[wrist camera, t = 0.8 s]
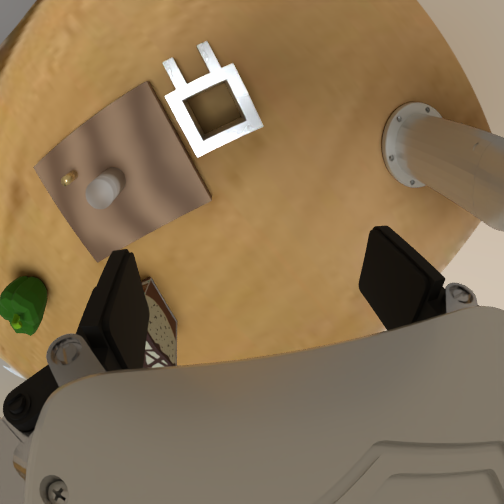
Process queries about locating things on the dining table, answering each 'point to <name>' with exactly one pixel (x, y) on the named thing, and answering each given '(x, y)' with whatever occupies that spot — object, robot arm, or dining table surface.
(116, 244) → the post board
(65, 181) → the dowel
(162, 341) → the food container
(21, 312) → the bell pepper
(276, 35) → the dining table surface
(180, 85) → the bracket
